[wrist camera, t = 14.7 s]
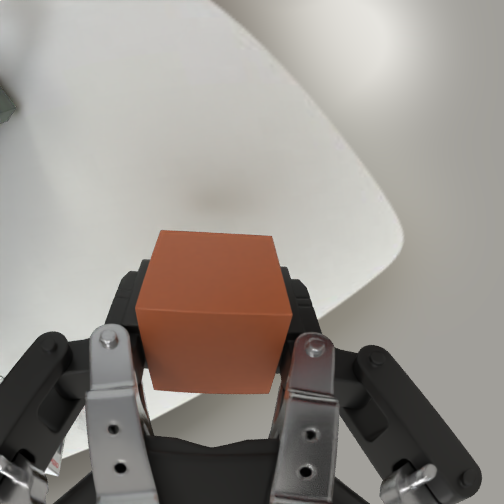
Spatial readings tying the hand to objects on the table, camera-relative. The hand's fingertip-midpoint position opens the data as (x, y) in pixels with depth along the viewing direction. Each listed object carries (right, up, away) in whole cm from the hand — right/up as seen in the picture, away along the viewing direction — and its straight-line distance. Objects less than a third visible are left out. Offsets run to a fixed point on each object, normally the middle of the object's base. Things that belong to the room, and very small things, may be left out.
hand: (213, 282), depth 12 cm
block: (0, 0, 0) cm, 0 cm away
